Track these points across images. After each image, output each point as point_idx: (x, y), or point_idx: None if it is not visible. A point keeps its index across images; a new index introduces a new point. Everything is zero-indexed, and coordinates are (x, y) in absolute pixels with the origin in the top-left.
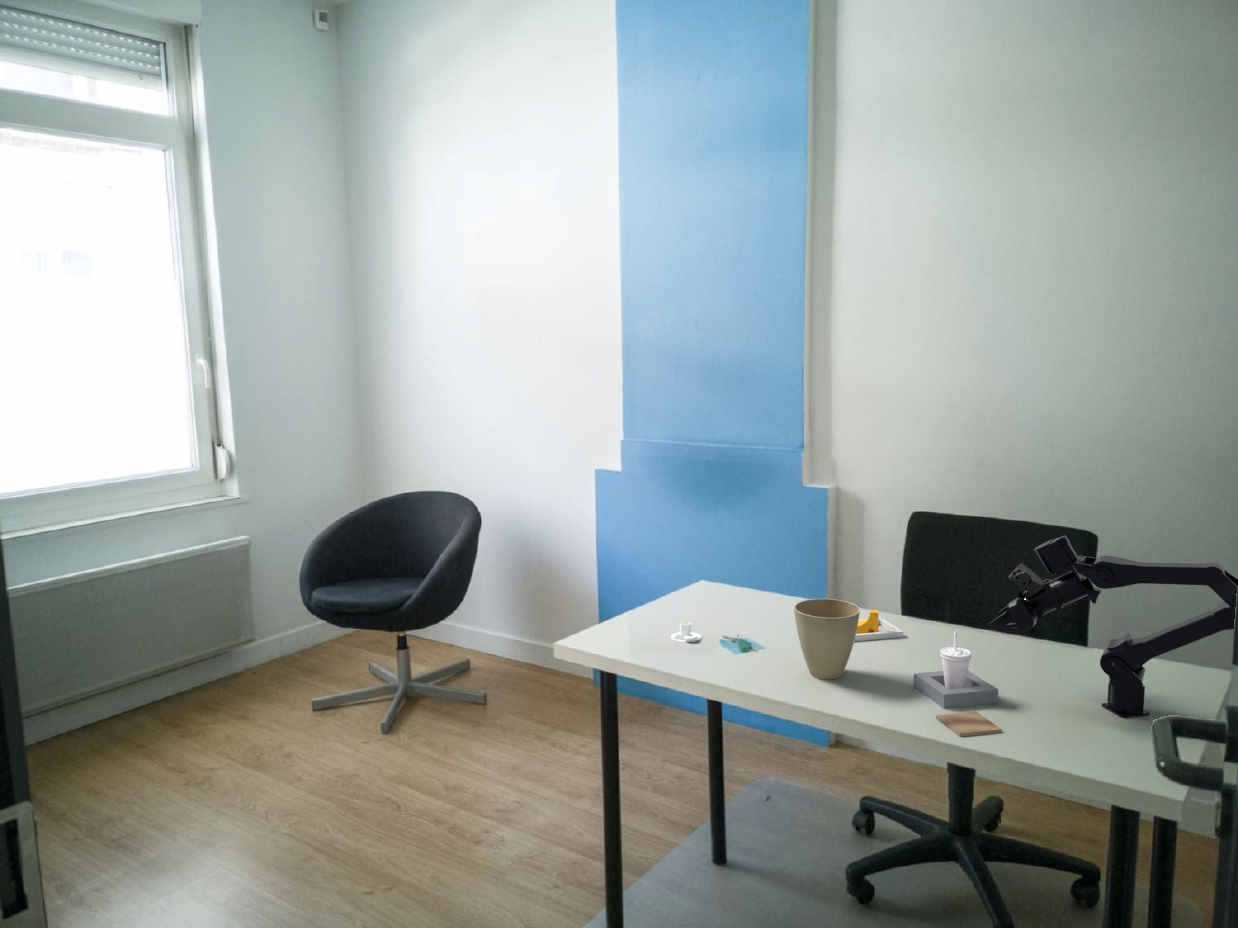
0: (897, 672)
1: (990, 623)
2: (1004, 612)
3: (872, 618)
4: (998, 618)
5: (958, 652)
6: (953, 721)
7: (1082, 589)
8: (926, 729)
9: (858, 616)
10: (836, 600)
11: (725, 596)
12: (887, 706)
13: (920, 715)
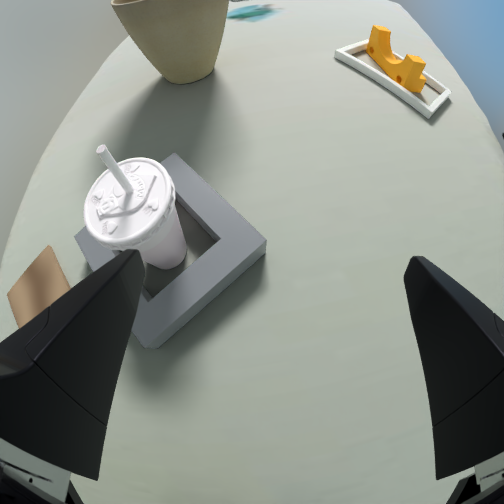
0: (248, 129)
1: (112, 261)
2: (425, 298)
3: (406, 64)
4: (57, 305)
5: (110, 205)
6: (34, 277)
7: None
8: (20, 245)
9: (159, 3)
10: None
11: (381, 6)
12: (81, 169)
13: (57, 222)
